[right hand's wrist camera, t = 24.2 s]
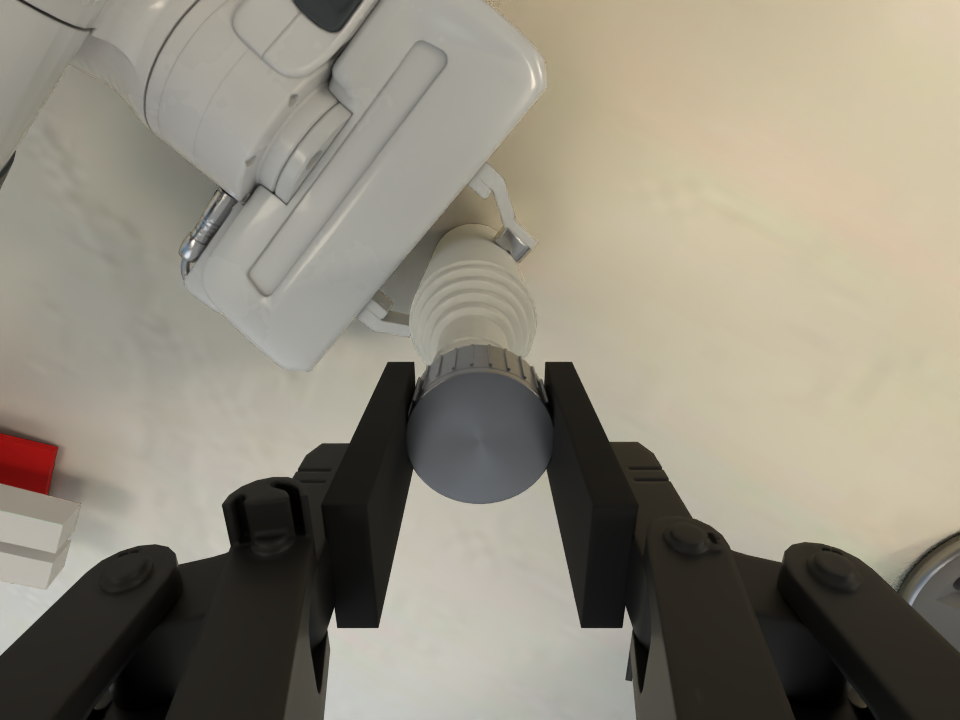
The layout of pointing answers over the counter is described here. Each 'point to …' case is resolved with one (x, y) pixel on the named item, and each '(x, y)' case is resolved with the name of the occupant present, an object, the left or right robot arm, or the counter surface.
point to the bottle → (471, 297)
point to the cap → (479, 425)
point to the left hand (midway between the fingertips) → (486, 297)
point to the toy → (31, 514)
